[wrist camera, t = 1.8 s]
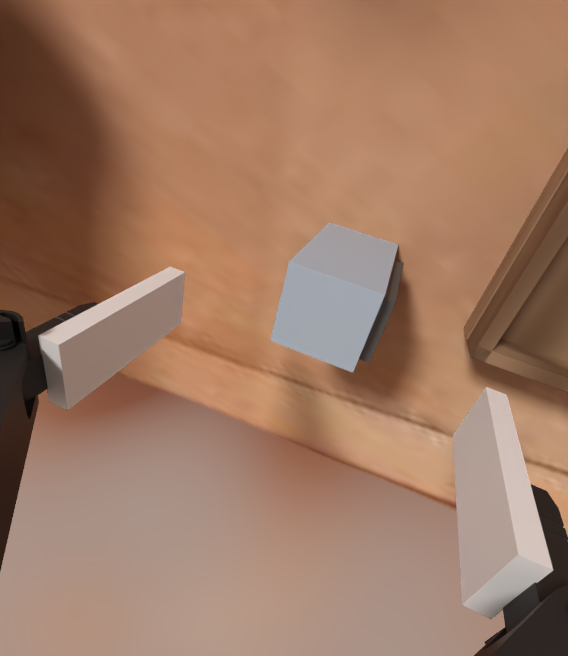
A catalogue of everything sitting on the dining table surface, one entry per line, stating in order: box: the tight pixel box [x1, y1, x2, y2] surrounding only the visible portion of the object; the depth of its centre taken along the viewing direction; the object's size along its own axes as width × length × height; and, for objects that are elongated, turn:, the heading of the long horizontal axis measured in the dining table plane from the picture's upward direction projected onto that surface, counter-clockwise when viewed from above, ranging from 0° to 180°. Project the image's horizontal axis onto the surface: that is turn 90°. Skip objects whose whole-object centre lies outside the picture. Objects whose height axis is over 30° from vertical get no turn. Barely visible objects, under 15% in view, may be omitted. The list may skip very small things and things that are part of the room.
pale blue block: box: [270, 222, 403, 373], centre depth 21 cm, size 4×5×8 cm
